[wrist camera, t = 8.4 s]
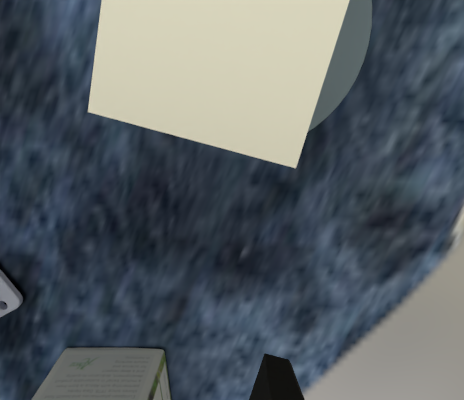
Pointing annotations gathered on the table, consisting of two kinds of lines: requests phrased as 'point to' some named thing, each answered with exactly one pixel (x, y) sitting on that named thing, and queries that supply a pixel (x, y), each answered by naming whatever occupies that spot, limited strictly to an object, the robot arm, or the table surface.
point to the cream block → (217, 69)
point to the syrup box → (107, 375)
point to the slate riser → (345, 59)
